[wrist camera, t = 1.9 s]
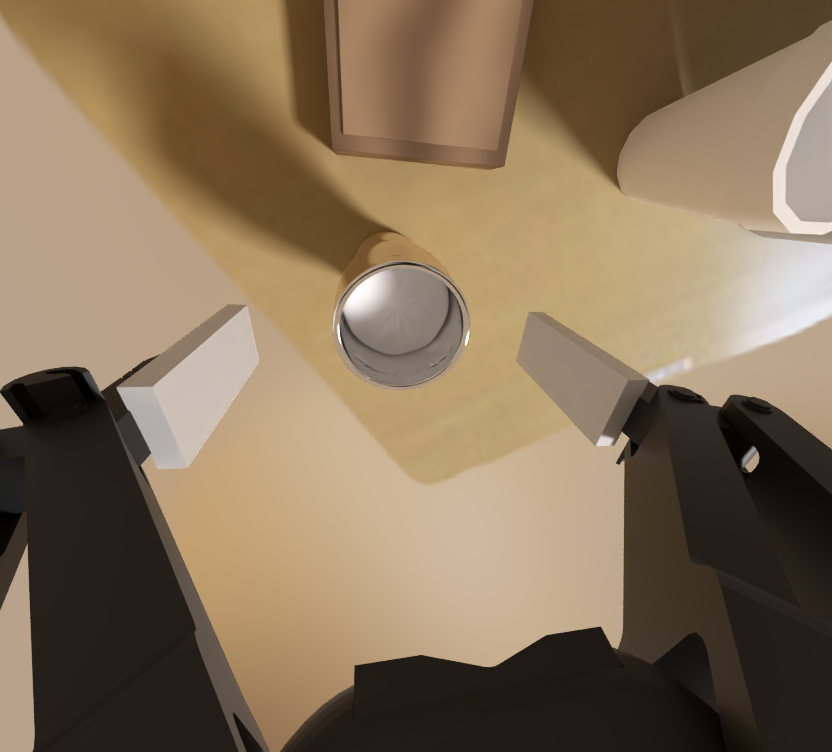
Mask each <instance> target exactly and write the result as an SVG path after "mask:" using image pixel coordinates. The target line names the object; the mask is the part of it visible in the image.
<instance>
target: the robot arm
mask: <svg viewBox="0 0 832 752" xmlns="http://www.w3.org/2000/svg"><path fill="white" fill-rule="evenodd" d="M516 361H517V362H518V364H519V365H520V366H521V367H522V368H523V369H524V370H525V371H526V372H527V373H528V374H529V375H530V376H531V378H532V379H533V380H534V381H535V382H536V383H537V384H538V385H539V386H540V387H541V388H542V389H543V390H544V392H545V393H546V394H547V395H548V396H549V397H550V398H551V399H552V400H553V401H554V402H555V403H556V404H557V406H558V407H559V408H560V409H561V410H562V411H563V412H564V413H565V414H566V415H567V416H568V417H569V418H570V419H571V421H572V422H573V423H574V424H575V425H576V426H577V427H578V428H579V429H580V430H581V431H582V432H583V433H584V435H585V436H586V437H587V438H588V439H589V440H590V441H591V442H592V443H593V444H594V445H595V446H611V445H615V443H616V441H617V440H618V438H619V436H620V434H621V432H623V433H624V434H625V435H627V436H628V437H629V438H630V439H629V441H628V442H627V444H626V446H625V448H624V449H623V451H622V453H621V455H620V457H619V458H618V460H617V462H616V463H617V464H620V463H621V462H622V461H625V477H624V478H625V479H624V483H625V484H624V491H625V492H624V601H623V603H624V604H623V605H624V608H623V614H624V615H623V634H622V639H621V642H620V645H619V647H618V649H615V648H612V647H611V645H610V643H609V641H608V639H607V637H606V635H605V634H604V632H603V630H602V628H601V627H595V628H589V629H583V630H576V631H570V632H564V633H557V634H552V635H546V636H544V637H543V638H541V639H539V640H538V641H536V642H535V643H533V644H531V645H530V646H528V647H526V648H525V649H523V650H521V651H520V652H518V653H517V654H515V655H513V656H512V657H510V658H508V659H507V660H505V661H504V662H502V663H500V664H499V665H497V666H494V667H482V666H476V665H471V664H466V663H461V662H455V661H450V660H444V659H439V658H434V657H429V656H423V655H419V656H413V657H406V658H400V659H394V660H387V661H381V662H375V663H369V664H362V665H356V666H355V673H354V674H355V675H354V685H353V686H351V687H350V688H348V689H346V690H344V691H342V692H340V693H338V694H337V695H336V696H334V697H333V698H332V699H330V700H329V701H328V702H326V703H325V704H324V705H322V706H321V707H320V708H319V709H318V710H317V711H316V712H315V713H314V714H313V715H311V717H309V718H308V719H307V720H306V721H305V722H304V723H303V725H302V726H301V727H300V728H299V729H298V730H297V731H296V732H295V734H294V735H293V736H292V737H291V738H290V740H289V741H288V742H287V743H286V745H285V746H284V747H283V749H282V750H281V751H280V752H832V450H831V449H830V448H829V447H828V446H827V445H825V444H824V443H823V442H821V441H820V440H819V439H817V438H816V437H815V436H813V435H812V434H811V433H810V432H808V431H807V430H806V429H805V428H803V427H802V426H801V425H799V424H798V423H797V422H796V421H794V420H793V419H792V418H791V417H789V416H788V415H787V414H785V413H784V412H783V411H781V410H780V409H778V408H776V407H775V406H772V405H771V404H770V403H768V402H766V401H764V400H761V399H758V398H755V397H747V396H741V395H731V396H730V397H729V398H728V399H727V401H726V402H725V404H724V405H723V407H717V406H711V405H709V403H708V402H707V401H706V400H705V399H704V398H703V397H702V396H701V395H698V394H696V393H694V392H693V391H691V390H689V389H686V388H683V387H678V386H673V385H661V386H659V387H657V386H655V385H654V384H652V383H651V382H649V379H648V378H646V377H645V376H643V375H641V374H640V373H638V372H637V371H635V370H634V369H632V368H630V367H629V366H627V365H626V364H624V363H622V362H621V361H619V360H618V359H616V358H615V357H613V356H611V355H610V354H608V353H607V352H605V351H604V350H602V349H600V348H599V347H597V346H596V345H594V344H592V343H591V342H589V341H588V340H586V339H585V338H583V337H581V336H580V335H578V334H577V333H575V332H574V331H572V330H570V329H569V328H567V327H566V326H564V325H562V324H561V323H559V322H558V321H556V320H555V319H553V318H551V317H550V316H548V315H547V314H545V313H544V312H529V314H528V318H527V322H526V325H525V329H524V333H523V337H522V340H521V344H520V348H519V352H518V355H517V359H516ZM258 363H259V358H258V353H257V348H256V344H255V339H254V335H253V330H252V325H251V321H250V316H249V312H248V307H247V305H226V306H225V307H224V308H222V309H221V310H220V311H218V312H217V313H216V314H214V315H213V316H212V317H210V318H209V319H208V320H206V321H205V322H204V323H202V324H201V325H200V326H198V327H197V328H195V329H194V330H193V331H192V332H190V333H189V334H187V335H186V336H185V337H183V338H182V339H181V340H179V341H178V342H177V343H175V344H174V345H173V346H171V347H170V348H169V349H167V350H166V351H165V352H163V353H162V354H160V355H157V356H155V357H153V358H150V359H148V360H145V361H143V362H142V363H140V364H139V365H138V366H136V367H135V368H133V369H132V371H129V372H128V373H126V374H125V375H124V376H123V378H120V379H118V380H117V381H115V382H114V383H113V384H111V385H110V386H108V387H107V388H106V389H104V390H103V391H101V392H100V390H99V388H98V387H97V384H96V383H95V381H94V379H93V377H92V375H91V373H90V372H89V371H88V370H87V369H86V368H81V367H60V368H54V369H48V370H44V371H39V372H36V373H32V374H28V375H26V376H23V377H20V378H18V379H15V380H13V381H11V382H10V383H8V384H6V385H5V386H3V388H2V389H1V390H0V393H1V394H2V396H3V397H4V398H5V400H6V401H7V402H8V404H9V405H10V406H11V408H12V409H13V410H14V412H15V413H16V414H17V416H18V417H19V418H20V420H21V421H22V422H23V426H19V427H13V428H7V429H2V430H0V609H1V607H2V604H3V602H4V600H5V597H6V594H7V592H8V590H9V587H10V584H11V582H12V580H13V578H14V575H15V573H16V570H17V568H18V565H19V563H20V560H21V558H22V555H23V553H24V550H25V548H26V546H27V543H28V566H29V592H30V619H31V643H32V644H31V645H32V670H33V696H34V697H33V698H34V724H35V740H34V750H33V752H270V751H269V749H268V747H267V745H266V742H265V740H264V738H263V736H262V734H261V731H260V729H259V728H258V725H257V723H256V721H255V719H254V717H253V715H252V713H251V711H250V710H249V708H248V706H247V704H246V702H245V700H244V697H243V695H242V693H241V691H240V689H239V686H238V684H237V682H236V680H235V678H234V675H233V673H232V670H231V668H230V666H229V664H228V661H227V659H226V657H225V654H224V652H223V650H222V648H221V645H220V643H219V641H218V638H217V636H216V634H215V632H214V629H213V627H212V625H211V622H210V620H209V618H208V616H207V613H206V611H205V609H204V606H203V604H202V602H201V600H200V597H199V595H198V593H197V591H196V588H195V586H194V584H193V581H192V579H191V577H190V574H189V572H188V570H187V568H186V566H185V563H184V561H183V559H182V556H181V554H180V552H179V549H178V547H177V545H176V542H175V540H174V538H173V536H172V534H171V531H170V529H169V527H168V524H167V522H166V520H165V517H164V515H163V513H162V511H161V509H160V506H159V504H158V501H157V499H156V497H155V495H154V492H153V490H152V488H151V485H150V483H149V481H148V479H147V477H146V474H145V472H144V470H143V469H142V467H141V464H142V463H143V462H144V461H145V460H146V458H147V457H148V456H149V455H151V457H152V458H153V460H154V462H155V464H156V466H157V468H158V469H177V468H188V467H189V466H190V464H191V463H192V461H193V460H194V458H195V457H196V455H197V454H198V452H199V451H200V449H201V448H202V446H203V445H204V443H205V442H206V440H207V439H208V437H209V436H210V434H211V433H212V431H213V430H214V428H215V427H216V425H217V424H218V422H219V421H220V420H221V418H222V416H223V415H224V414H225V412H226V411H227V409H228V408H229V406H230V405H231V403H232V402H233V400H234V399H235V397H236V396H237V394H238V393H239V391H240V390H241V388H242V387H243V385H244V384H245V382H246V381H247V379H248V378H249V376H250V375H251V373H252V372H253V370H254V369H255V367H256V366H257V364H258ZM757 452H758V453H759V457H760V458H759V463H758V465H757V466H756V468H755V469H754V470H753V471H752V472H751V473H750V472H748V470H747V469H746V468H745V466H746V464H747V463H748V462H749V461H750V460H751V459H752V457H753V456H754V455H755V454H756V453H757Z"/></svg>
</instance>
